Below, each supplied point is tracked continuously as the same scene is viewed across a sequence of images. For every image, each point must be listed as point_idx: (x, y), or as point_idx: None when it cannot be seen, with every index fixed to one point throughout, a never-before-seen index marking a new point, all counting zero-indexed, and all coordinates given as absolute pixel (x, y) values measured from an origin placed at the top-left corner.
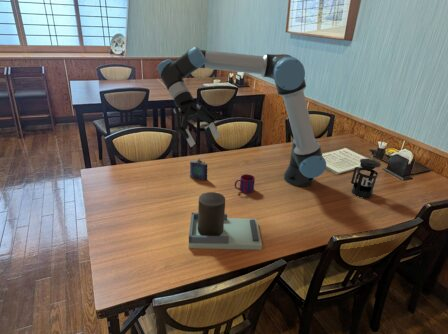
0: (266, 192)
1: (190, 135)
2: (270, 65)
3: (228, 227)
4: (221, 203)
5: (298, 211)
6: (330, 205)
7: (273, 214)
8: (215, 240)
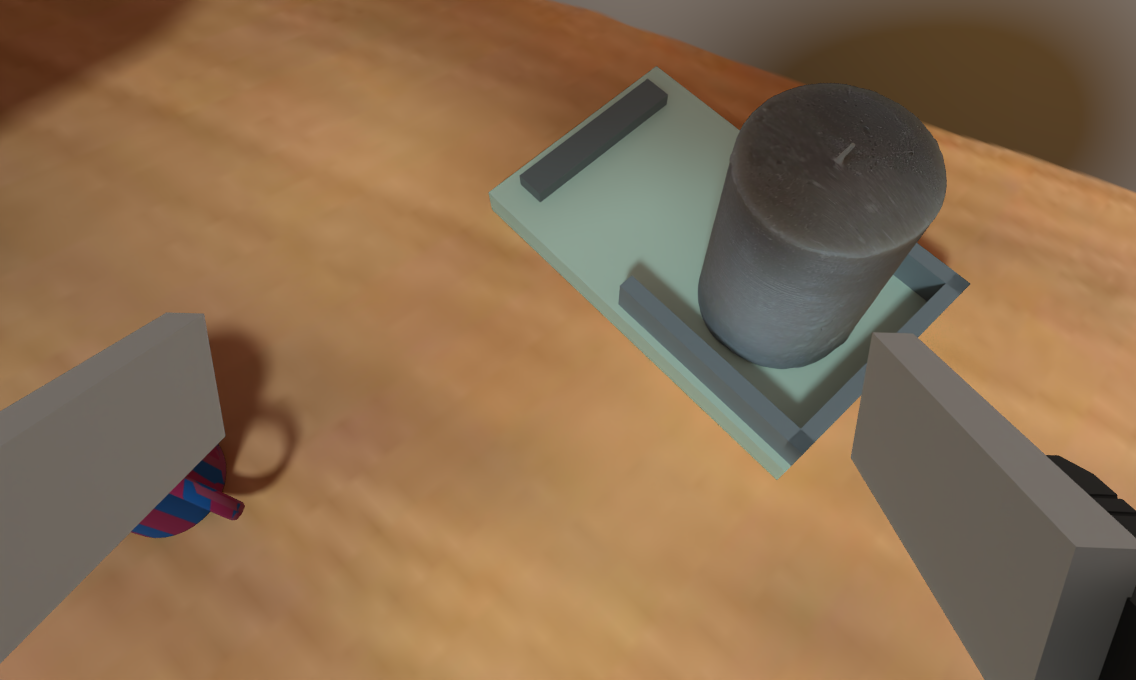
0: None
1: (975, 423)
2: None
3: (676, 246)
4: (827, 84)
5: (228, 120)
6: (61, 43)
7: (348, 191)
8: None
